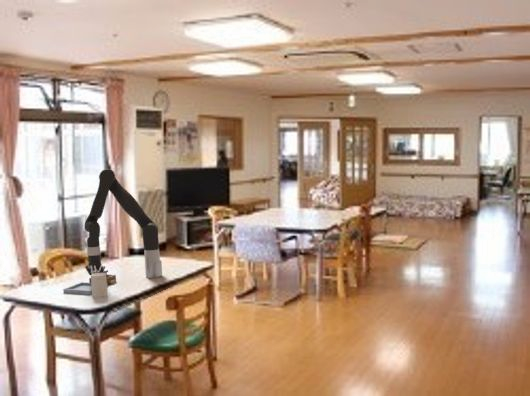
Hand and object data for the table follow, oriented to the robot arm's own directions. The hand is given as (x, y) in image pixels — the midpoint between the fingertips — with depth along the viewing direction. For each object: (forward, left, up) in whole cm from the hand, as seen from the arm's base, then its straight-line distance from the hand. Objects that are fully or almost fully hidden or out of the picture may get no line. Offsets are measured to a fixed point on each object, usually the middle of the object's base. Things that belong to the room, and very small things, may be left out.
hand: (96, 281), depth 356 cm
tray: (-5, +16, -1) cm, 17 cm away
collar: (-5, 0, -1) cm, 5 cm away
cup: (-21, +25, -1) cm, 32 cm away
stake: (-7, 0, -1) cm, 7 cm away
